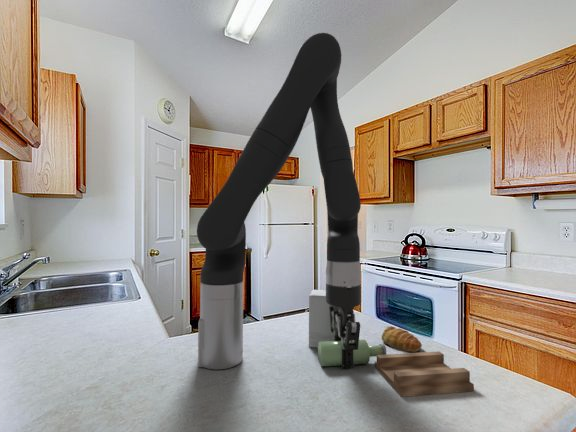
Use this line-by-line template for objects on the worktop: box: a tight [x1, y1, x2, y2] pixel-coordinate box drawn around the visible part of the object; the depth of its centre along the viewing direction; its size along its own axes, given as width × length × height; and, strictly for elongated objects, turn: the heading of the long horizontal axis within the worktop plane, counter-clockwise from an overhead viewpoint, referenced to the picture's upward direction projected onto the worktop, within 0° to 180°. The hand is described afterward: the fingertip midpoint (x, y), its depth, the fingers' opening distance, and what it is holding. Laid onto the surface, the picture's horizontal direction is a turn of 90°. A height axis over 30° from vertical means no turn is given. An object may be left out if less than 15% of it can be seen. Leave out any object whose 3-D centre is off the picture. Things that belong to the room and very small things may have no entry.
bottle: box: [317, 339, 387, 367], centre depth 67 cm, size 14×5×5 cm, turn 98°
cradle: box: [374, 351, 475, 398], centre depth 60 cm, size 14×11×3 cm
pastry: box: [381, 325, 423, 353], centre depth 77 cm, size 9×7×4 cm
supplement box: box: [308, 289, 335, 348], centre depth 78 cm, size 7×7×13 cm
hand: (343, 360), depth 66 cm, fingers closed on bottle, 4 cm apart
